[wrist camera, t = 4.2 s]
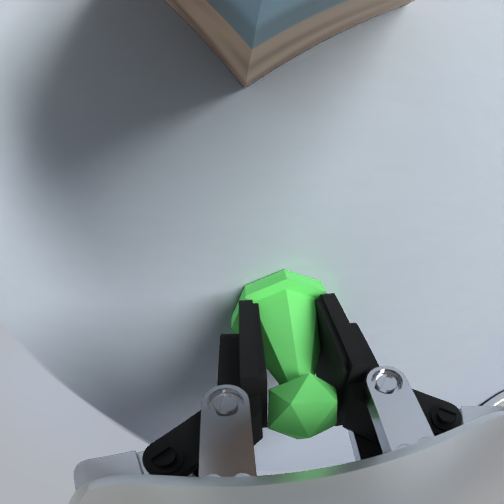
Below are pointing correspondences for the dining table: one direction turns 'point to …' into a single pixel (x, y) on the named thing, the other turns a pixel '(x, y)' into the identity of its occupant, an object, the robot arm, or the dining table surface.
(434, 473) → the robot arm
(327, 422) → the game piece
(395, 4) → the blue and brown block
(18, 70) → the dining table surface
